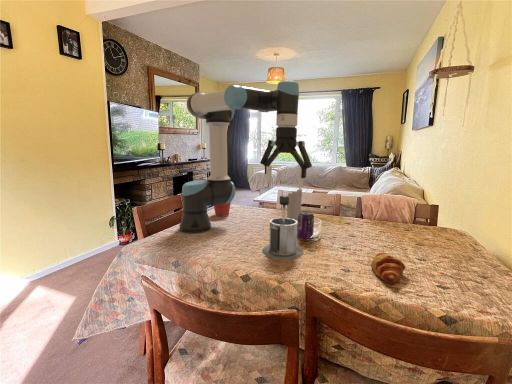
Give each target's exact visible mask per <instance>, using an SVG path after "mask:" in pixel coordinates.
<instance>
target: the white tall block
mask: <svg viewBox="0 0 512 384" xmlns="http://www.w3.org/2000/svg"><path fill="white" fill-rule="evenodd" d="M287 196H289V204H288V205H286V207H287V208H286V209H287V212H286V218H290V219H294V220H296V221H297V223H298V215H299V212H301V211H302V198H303V190H302V187H300V188H299V187H298V189H297V191H291V192H288V194H287ZM297 226H298V224H297Z"/></svg>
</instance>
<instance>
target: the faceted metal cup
mask: <svg viewBox="0 0 512 384" xmlns="http://www.w3.org/2000/svg"><path fill="white" fill-rule="evenodd" d="M297 224H298V223H297V221H296V220H294V219H290V218H287V217H285V225H282V217H276V218H275V217H274V218H272V219H270V220H269V252H270V253H271V254H273V255H275V256H281V257H288V256H293V255H295V254H296V253H297V249H296V248H297V247H298V244H297V243H298V241H297V240H298V237H297V228H298V227H297Z"/></svg>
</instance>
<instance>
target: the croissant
mask: <svg viewBox="0 0 512 384" xmlns="http://www.w3.org/2000/svg"><path fill="white" fill-rule="evenodd" d="M370 267H371V268H372V270H373V272H374V273H375V274H376V275H377V276H378V277H379V278H381V279H382V280H383V281H384V282H386V283H388V284H389V283H390V284H391V283H392V284H394V283H396V282H399V281H400V279H401V277H402V276H403V275H404V271H405V269H406V266H405V263H404V262H403V261H402V260H401V259H400V258H398V257H396V256H393V255H391V254H388V253H385V252H379V253H377V254H375V256H374V257H373V259H372V261H371V262H370Z"/></svg>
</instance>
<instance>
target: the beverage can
mask: <svg viewBox="0 0 512 384" xmlns="http://www.w3.org/2000/svg"><path fill="white" fill-rule="evenodd" d="M314 225H315V216H314V212H312V211H309V210H301V212H299V215H298V227H297V239H300V240H304V241H305V240H312V239H311V238H310V237H311V236H312V235H313V236H314Z"/></svg>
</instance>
